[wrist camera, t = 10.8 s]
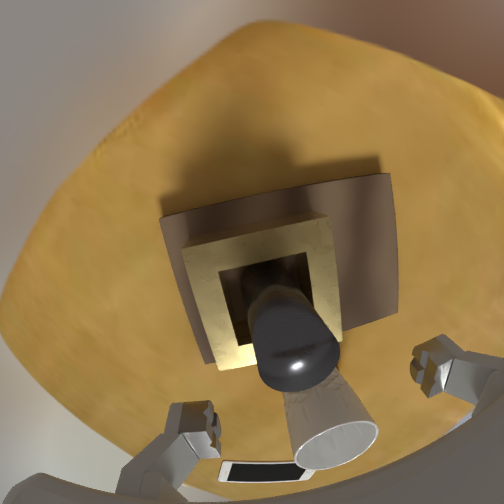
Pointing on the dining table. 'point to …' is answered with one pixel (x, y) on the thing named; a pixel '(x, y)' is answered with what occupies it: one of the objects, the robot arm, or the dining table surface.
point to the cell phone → (262, 472)
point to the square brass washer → (254, 251)
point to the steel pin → (286, 330)
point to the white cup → (328, 424)
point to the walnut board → (282, 204)
